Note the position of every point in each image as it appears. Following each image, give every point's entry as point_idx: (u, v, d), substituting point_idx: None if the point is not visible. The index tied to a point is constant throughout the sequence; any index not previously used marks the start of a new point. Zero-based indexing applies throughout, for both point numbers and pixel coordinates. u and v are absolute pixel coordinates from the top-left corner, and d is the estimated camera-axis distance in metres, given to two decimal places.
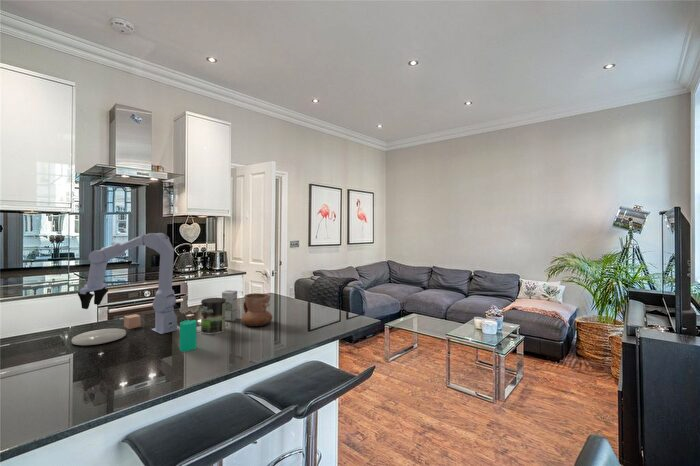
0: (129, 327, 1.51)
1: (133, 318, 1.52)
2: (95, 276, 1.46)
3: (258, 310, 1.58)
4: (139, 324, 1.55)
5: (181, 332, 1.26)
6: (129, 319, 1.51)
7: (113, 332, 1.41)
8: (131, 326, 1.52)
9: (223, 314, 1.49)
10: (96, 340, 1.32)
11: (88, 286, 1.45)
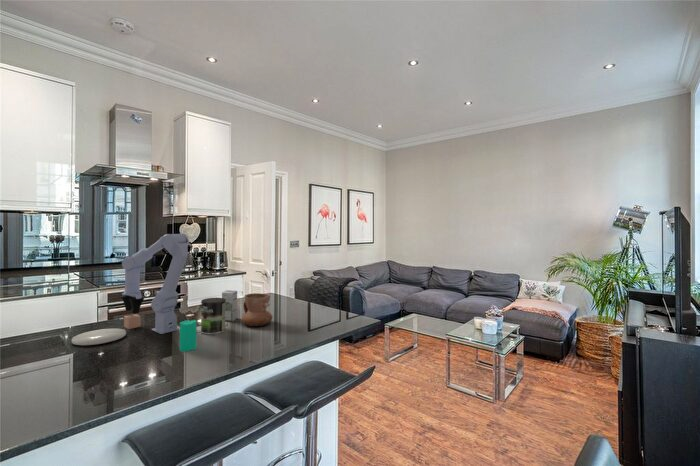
0: (129, 327, 1.51)
1: (133, 318, 1.52)
2: (129, 282, 1.51)
3: (258, 310, 1.58)
4: (139, 324, 1.55)
5: (181, 332, 1.26)
6: (129, 319, 1.51)
7: (113, 332, 1.41)
8: (131, 326, 1.52)
9: (223, 314, 1.49)
10: (96, 340, 1.32)
11: (133, 292, 1.52)
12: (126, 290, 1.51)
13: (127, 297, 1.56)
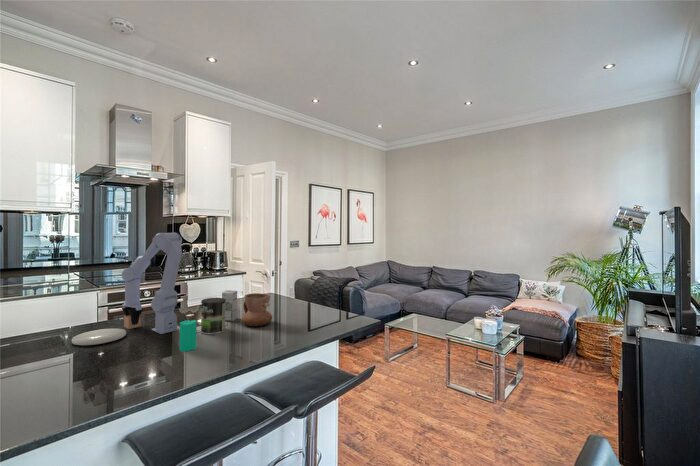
0: (129, 327, 1.51)
1: None
2: (129, 293, 1.51)
3: (258, 310, 1.58)
4: (139, 324, 1.55)
5: (181, 332, 1.26)
6: (129, 319, 1.51)
7: (113, 332, 1.41)
8: (131, 326, 1.52)
9: (223, 314, 1.49)
10: (96, 340, 1.32)
11: (133, 304, 1.52)
12: (126, 301, 1.52)
13: (128, 308, 1.55)
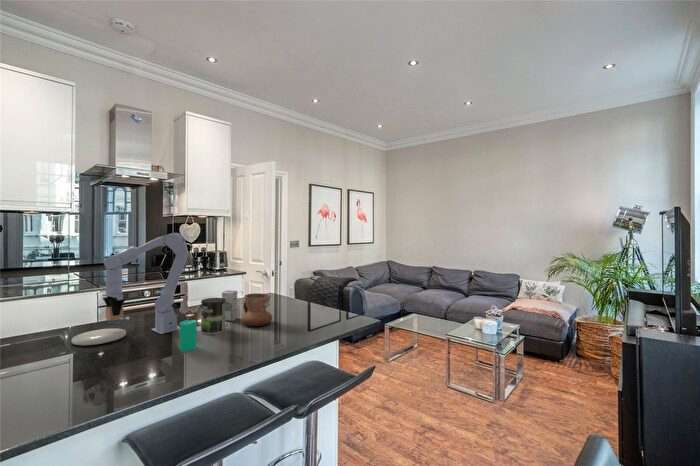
0: (110, 318, 1.41)
1: None
2: (115, 282, 1.42)
3: (258, 310, 1.58)
4: (122, 315, 1.45)
5: (181, 332, 1.26)
6: (110, 310, 1.41)
7: (113, 332, 1.41)
8: (113, 317, 1.42)
9: (223, 314, 1.49)
10: (96, 340, 1.32)
11: (114, 293, 1.42)
12: (107, 291, 1.41)
13: (109, 299, 1.45)
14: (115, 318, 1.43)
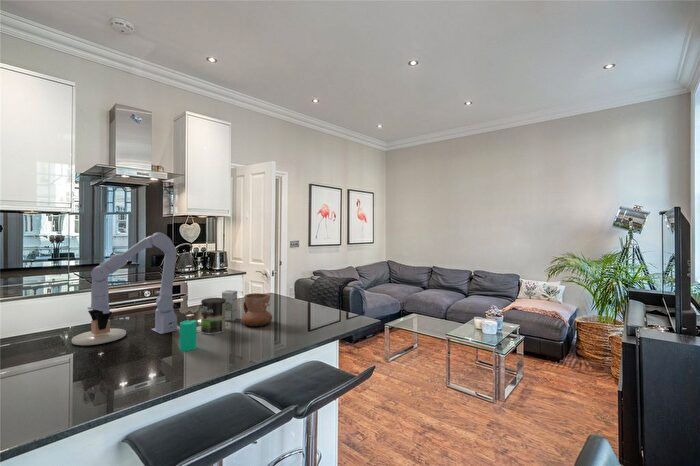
0: (96, 333, 1.35)
1: None
2: (103, 294, 1.36)
3: (258, 310, 1.58)
4: (108, 329, 1.38)
5: (181, 332, 1.26)
6: (96, 324, 1.35)
7: (113, 332, 1.41)
8: (99, 332, 1.35)
9: (223, 314, 1.49)
10: (96, 340, 1.32)
11: (100, 306, 1.35)
12: (92, 304, 1.35)
13: (95, 311, 1.38)
14: (101, 332, 1.36)
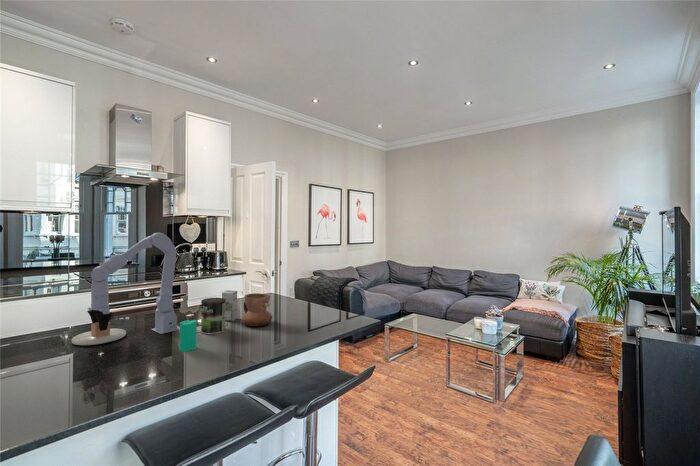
0: (96, 336, 1.35)
1: None
2: (103, 294, 1.36)
3: (258, 310, 1.58)
4: (108, 332, 1.38)
5: (181, 332, 1.26)
6: (96, 327, 1.35)
7: (113, 332, 1.41)
8: (99, 334, 1.35)
9: (223, 314, 1.49)
10: (96, 340, 1.32)
11: (100, 306, 1.35)
12: (92, 304, 1.35)
13: (94, 311, 1.39)
14: (101, 335, 1.36)
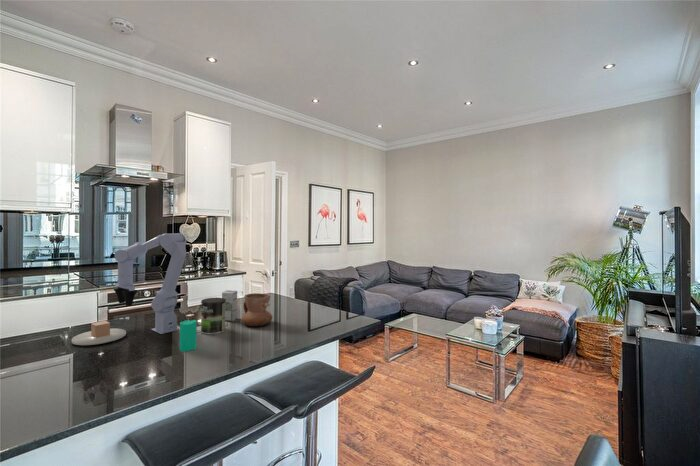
0: (96, 336, 1.35)
1: (101, 325, 1.36)
2: (123, 274, 1.51)
3: (258, 310, 1.58)
4: (108, 332, 1.38)
5: (181, 332, 1.26)
6: (96, 327, 1.35)
7: (113, 332, 1.41)
8: (99, 334, 1.35)
9: (223, 314, 1.49)
10: (96, 340, 1.32)
11: (126, 284, 1.51)
12: (119, 282, 1.51)
13: (120, 289, 1.55)
14: (101, 335, 1.36)
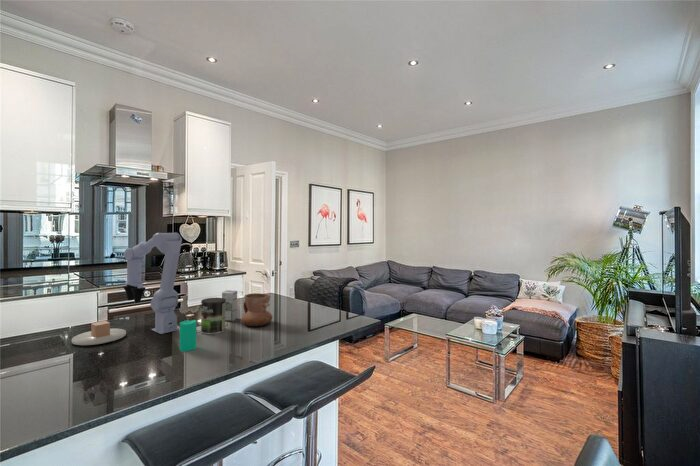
0: (96, 336, 1.35)
1: (101, 325, 1.36)
2: (130, 272, 1.57)
3: (258, 310, 1.58)
4: (108, 332, 1.38)
5: (181, 332, 1.26)
6: (96, 327, 1.35)
7: (113, 332, 1.41)
8: (99, 334, 1.35)
9: (223, 314, 1.49)
10: (96, 340, 1.32)
11: (134, 282, 1.58)
12: (128, 280, 1.57)
13: (129, 287, 1.62)
14: (101, 335, 1.36)
